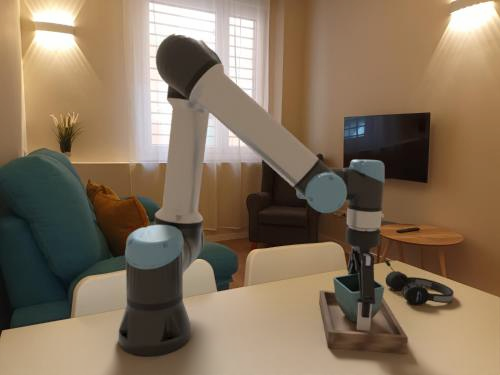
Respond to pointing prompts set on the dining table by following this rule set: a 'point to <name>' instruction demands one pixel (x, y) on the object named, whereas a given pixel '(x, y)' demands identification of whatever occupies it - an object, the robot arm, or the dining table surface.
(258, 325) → the dining table surface
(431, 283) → the headset
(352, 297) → the flower pot
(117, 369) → the dining table surface
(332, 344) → the holder tray
